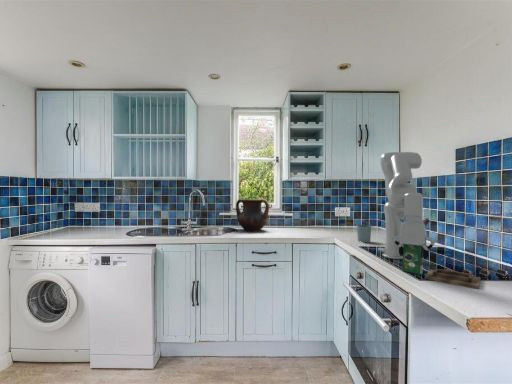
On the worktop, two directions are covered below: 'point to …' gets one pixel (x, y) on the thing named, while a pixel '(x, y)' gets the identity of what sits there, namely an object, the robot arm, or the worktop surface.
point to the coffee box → (412, 258)
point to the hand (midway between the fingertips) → (413, 257)
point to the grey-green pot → (364, 233)
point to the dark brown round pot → (252, 214)
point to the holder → (453, 278)
